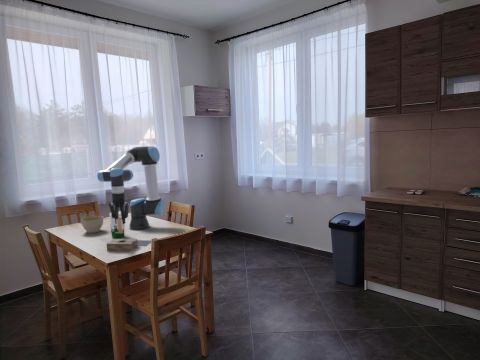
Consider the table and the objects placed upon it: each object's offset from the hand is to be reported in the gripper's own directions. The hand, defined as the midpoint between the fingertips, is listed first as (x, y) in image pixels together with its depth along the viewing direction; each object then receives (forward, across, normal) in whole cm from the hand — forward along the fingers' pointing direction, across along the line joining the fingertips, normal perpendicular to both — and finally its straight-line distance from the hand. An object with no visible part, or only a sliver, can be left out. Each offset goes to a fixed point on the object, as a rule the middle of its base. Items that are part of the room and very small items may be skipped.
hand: (120, 228), depth 214 cm
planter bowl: (+13, -45, +38) cm, 61 cm away
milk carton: (+14, -17, +25) cm, 33 cm away
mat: (+13, +8, +11) cm, 19 cm away
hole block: (+14, 0, 0) cm, 14 cm away
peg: (+3, 0, 0) cm, 3 cm away
